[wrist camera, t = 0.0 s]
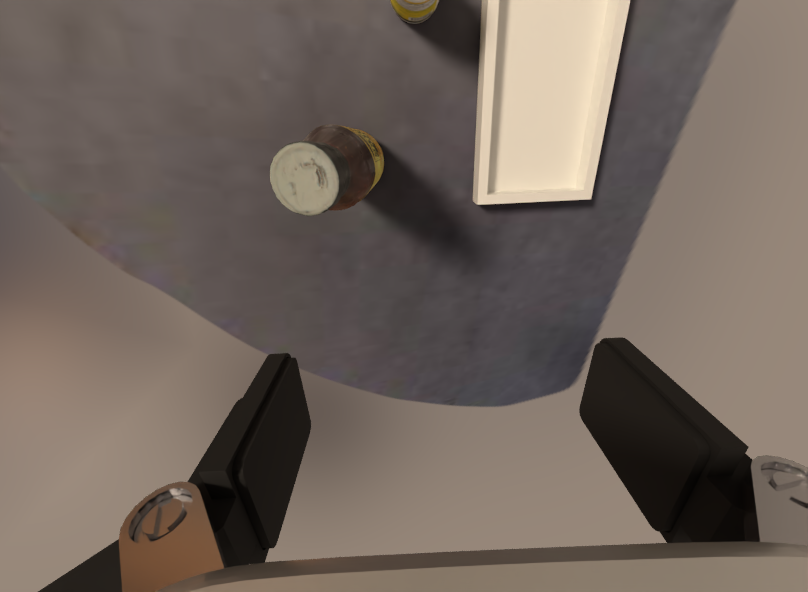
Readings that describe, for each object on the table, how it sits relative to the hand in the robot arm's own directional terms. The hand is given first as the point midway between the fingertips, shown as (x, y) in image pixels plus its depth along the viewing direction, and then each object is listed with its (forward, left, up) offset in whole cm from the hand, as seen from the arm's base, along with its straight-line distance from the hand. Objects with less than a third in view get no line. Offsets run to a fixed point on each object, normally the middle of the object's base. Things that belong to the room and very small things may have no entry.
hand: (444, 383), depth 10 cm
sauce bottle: (-5, -6, -31) cm, 32 cm away
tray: (-11, +14, -31) cm, 36 cm away
